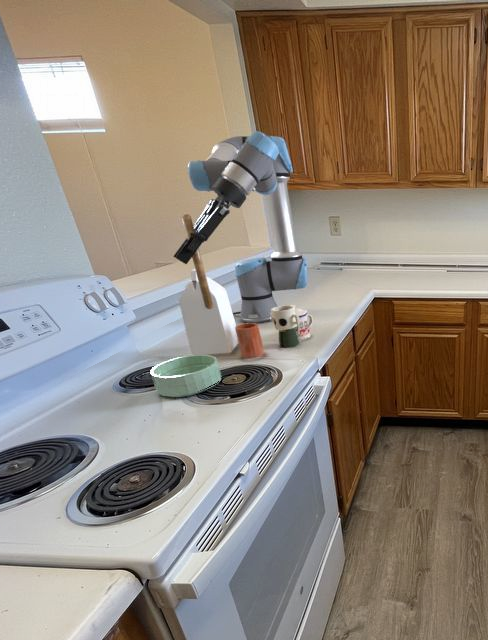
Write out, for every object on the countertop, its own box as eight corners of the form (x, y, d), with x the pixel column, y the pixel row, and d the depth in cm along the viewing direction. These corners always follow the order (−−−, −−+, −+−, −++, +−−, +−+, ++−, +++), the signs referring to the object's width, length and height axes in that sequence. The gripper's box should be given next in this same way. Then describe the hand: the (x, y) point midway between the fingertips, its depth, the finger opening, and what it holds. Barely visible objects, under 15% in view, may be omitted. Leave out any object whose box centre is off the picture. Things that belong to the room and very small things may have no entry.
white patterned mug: (295, 344, 139) (289, 310, 134) (278, 339, 143) (271, 306, 139) (322, 334, 148) (318, 301, 143) (305, 330, 152) (300, 299, 148)
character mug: (269, 348, 135) (261, 309, 130) (283, 341, 141) (276, 304, 136) (296, 352, 131) (289, 312, 126) (310, 344, 137) (303, 306, 132)
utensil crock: (238, 357, 129) (231, 326, 124) (258, 351, 133) (251, 321, 129) (248, 362, 125) (241, 330, 121) (268, 356, 129) (261, 325, 125)
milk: (231, 354, 131) (210, 271, 121) (192, 357, 130) (168, 273, 119) (241, 342, 142) (223, 264, 131) (205, 345, 140) (184, 266, 130)
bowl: (149, 388, 110) (141, 367, 107) (208, 370, 120) (202, 350, 118) (170, 405, 100) (162, 382, 98) (232, 383, 111) (227, 363, 108)
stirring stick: (204, 309, 112) (179, 214, 102) (212, 307, 113) (188, 213, 104) (207, 310, 111) (182, 214, 101) (215, 308, 112) (191, 213, 103)
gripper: (256, 197, 105) (200, 273, 102) (238, 197, 115) (188, 266, 112) (229, 173, 99) (170, 253, 97) (213, 176, 110) (159, 248, 107)
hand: (179, 260), depth 105 cm, fingers closed on stirring stick, 2 cm apart
